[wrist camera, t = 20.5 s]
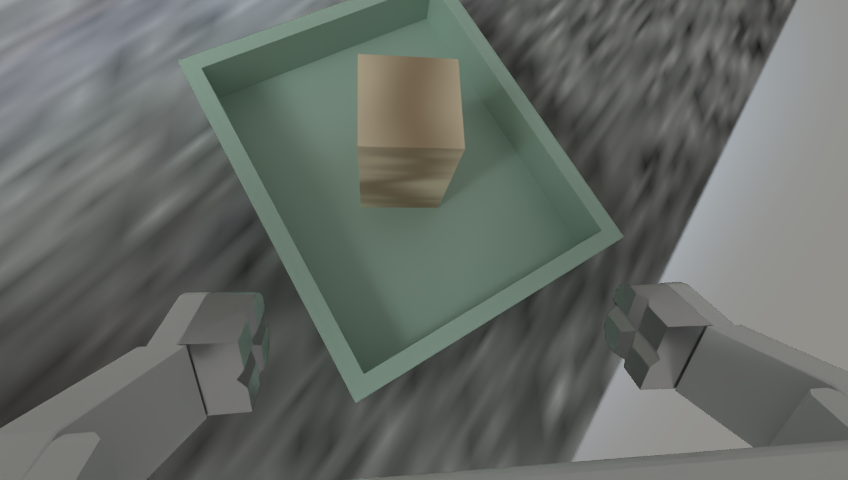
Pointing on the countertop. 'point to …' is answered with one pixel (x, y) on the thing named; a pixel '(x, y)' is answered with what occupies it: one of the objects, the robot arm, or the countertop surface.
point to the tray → (394, 227)
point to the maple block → (408, 129)
